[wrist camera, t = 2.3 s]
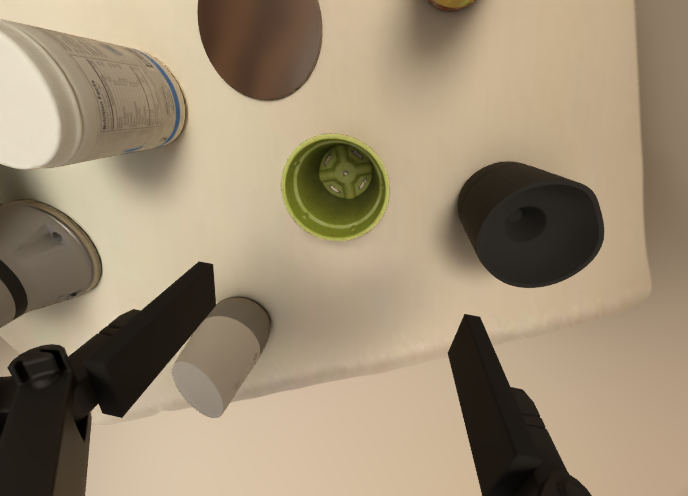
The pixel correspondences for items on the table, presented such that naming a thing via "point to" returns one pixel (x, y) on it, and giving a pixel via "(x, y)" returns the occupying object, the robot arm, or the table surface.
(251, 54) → the coaster
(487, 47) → the table surface
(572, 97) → the table surface
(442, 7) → the sauce bottle
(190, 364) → the smart speaker
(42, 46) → the supplement tub
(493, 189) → the pen holder
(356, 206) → the plant pot
